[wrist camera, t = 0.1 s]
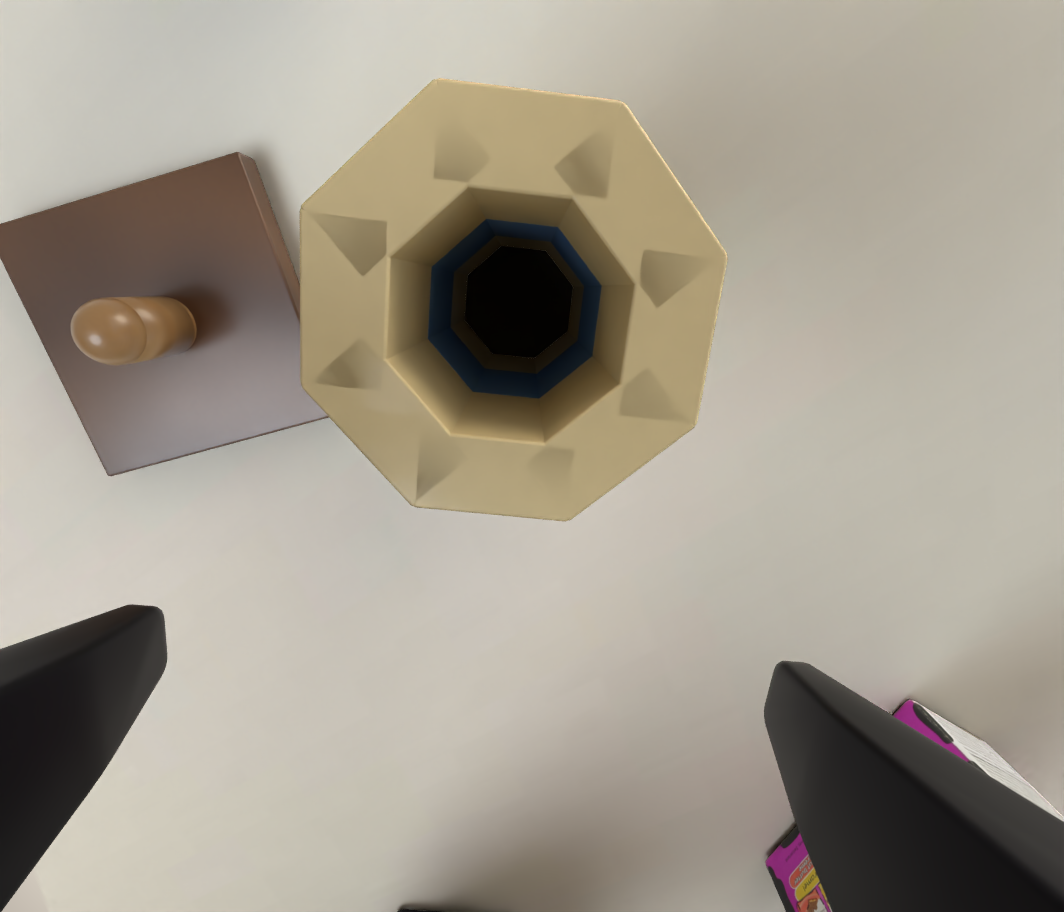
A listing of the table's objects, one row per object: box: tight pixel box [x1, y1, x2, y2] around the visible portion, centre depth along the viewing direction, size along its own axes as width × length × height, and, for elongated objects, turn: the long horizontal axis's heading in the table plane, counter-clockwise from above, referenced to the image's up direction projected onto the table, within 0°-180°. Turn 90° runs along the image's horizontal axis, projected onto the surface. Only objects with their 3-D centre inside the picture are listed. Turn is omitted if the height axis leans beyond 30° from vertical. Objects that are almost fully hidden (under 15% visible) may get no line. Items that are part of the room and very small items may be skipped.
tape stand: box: [0, 152, 329, 476], centre depth 19 cm, size 9×9×5 cm
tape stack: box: [300, 78, 728, 521], centre depth 15 cm, size 7×7×12 cm
